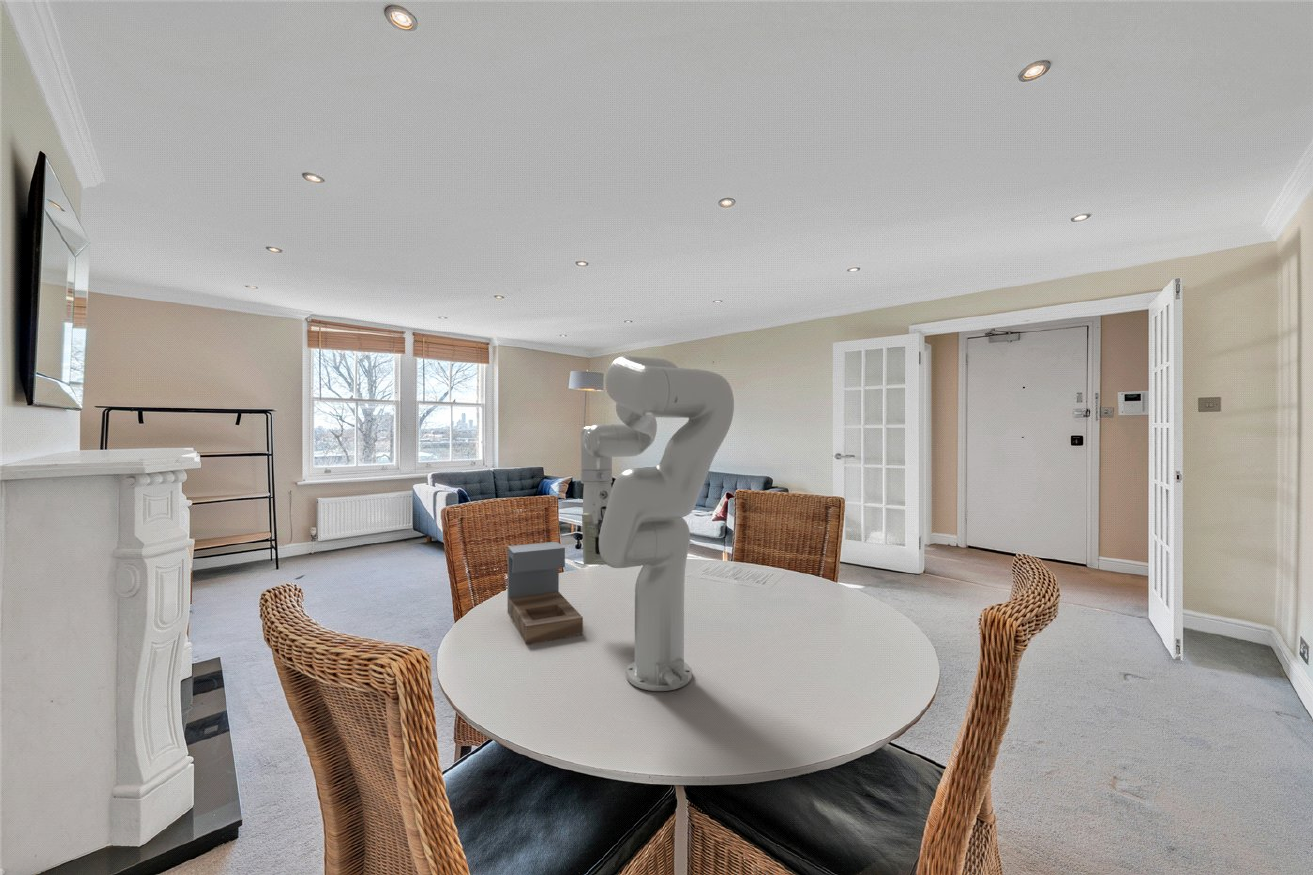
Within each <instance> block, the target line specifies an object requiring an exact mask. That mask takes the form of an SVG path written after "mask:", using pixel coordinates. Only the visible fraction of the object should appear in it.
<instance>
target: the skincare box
mask: <svg viewBox="0 0 1313 875" xmlns="http://www.w3.org/2000/svg"><path fill="white" fill-rule="evenodd" d="M581 520H582V521H581V522H582V523H581V525H582V530H581V531H582V555H583V556H582V557H583V566H586V565H587V566H590V565H592V566H594V565H595V566H596V565H597V566H600V565H601V566H602V565H603V566H604V565H606V566H608V565H607V564H606V563H605V562H604V561H603V560H602V558H601V555H600V554H596V553H595V537H597V533H596V527H595V525H593V524H591V522H590V516H589V514H587V513H584V514H583V513H582V515H581ZM599 523H602V522H599ZM599 523H598V524H599ZM599 528H600V530H601V527H599Z"/></svg>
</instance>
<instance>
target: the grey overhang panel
mask: <svg viewBox="0 0 1313 875" xmlns="http://www.w3.org/2000/svg"><path fill="white" fill-rule="evenodd" d="M506 548H507V552H506V553H507V555H506V557H507V558H506V559H507V560H506V563H507V568H506V570H507V583H506V584H507V587H506V588H507V613H508V614H509V598H514V597H522V596H529V595H537V594H544V593H552V592H559V593H560V591H559V590H560V589H559V588H560V587H559V584H560V578H559V573H560V570H559V569H561V568H566V548H565V546H564V545H562V544H561V543H559V542H558V541H551V542H550V541H549V542H539V543H538V542H537V543H528V544H527V543H526V544H517V545H507V546H506Z"/></svg>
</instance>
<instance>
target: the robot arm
mask: <svg viewBox="0 0 1313 875" xmlns="http://www.w3.org/2000/svg"><path fill="white" fill-rule="evenodd" d="M604 382H605V389H606V392H607V394H608V396H609V397H610V399H611V400H612V401H613V402H615V411H616V414H617V416H618V418H619V421H621V422H622V424H620V423H619V424H618V423H617V424H616V423H615V424H593V425H590V426H589V425H587V426H584V427H582V429H581V431H580V483H581V484H583V492H582V493H583V494H582V515H583V514H584V513H587V514H589V516H590V522H591V524H593V525H595V527H596V533H597V537H595V553H596V554H600V555H601V558H602V560H603V561H604V562H605V563H606V564H607V565H606V566H608V567H610V568H612V569H627V568H633V567H634V568H635V567H641V566H642V567H641V568H640V571H639V573H638V576H637V577H636V581H635V584H634V585H635V586H634V661H632V663H630V664H629V665H628V666H627V667H626V673H625V675H626V676H625V677H626V680H627V681H628V682H629V683H630V684H631V685H633V686H634V687H636V688H638V689H642V690H646V691H650V692H669V691H674V690H675V691H676V690H677V689H680V688H684V686H686V685H687V684H689V682H691V680H692V678H693V671H692V670H693V669H692V668H691V666H690V665H689V664H688V663H686V662H685V579H686V578H685V576H686V568H687V567H686V566H687V560H688V555H689V554H688V552H689V548H690V542H691V532H690V526H689V525H688V523H687V521H686V519H684V517H687V516H689V515H690V514H692V512H693V511H694V509H695V507H696V505H697V502H698V501H699V497H700V495H701V494H702V493H701V492H702V490H703V487H704V484H705V481H706V479H707V477H708V474H709V472H710V468H711V465H712V463H713V461H714V458H715V456H716V454H717V453H718V450H719V449H720V447H721V445H722V444H723V442H724V440H725V438H726V437H727V434H728V432H729V430H730V428H731V425H732V421H733V417H734V410H735V400H734V398H735V397H734V394H733V390H732V387H731V384H730V383H729V382H728V380H727V378H724V376H722V375H720V374H718V373H716V372H714V371H711V370H710V371H709V370H706V369H698V368H697V369H696V368H685V367H683V368H682V367H681V368H680V367H678V366H677V365H676V364H675V363H674V362H672V361H670V360H667V359H665V358H664V359H663V358H657V357H647V356H646V357H645V356H633V355H623V356H620V357H617V358H616V359H615V360H613V361H612V362H611V363H610V365H609V366H608V369H607V372H606V374H605V381H604ZM657 418H669V419H670V418H671V419H673V418H675V419H676V418H677V419H678V418H679V419H680V418H682V419H683V418H686V419H687V420H688V421H687V422H685V424H683V425H682V426H681V427H680V428H678V430H676V432H675V433H674V434H673V435H672V436H671V437H670V439H669V441H668V442H667V443H666V446H665V449H664V452H663V455H662V457H661V461H660V462H659V463H658V464H657V465H655V466H651V467H650V466H649V467H634V468H629V469H625V470H624V471H623V472H621V473H619V475H618V476H616V478H615V480H614V481H613V457H615V458H618V457H619V458H621V457H623V458H624V457H637V456H639V455H641V454H643V453H644V452H645V451H646V450H647V449H649V447H650V446H651V445H652V444H653V443H654V442H655V439H656V436H657V435H656V434H657V429H658V426H657V425H658V424H657ZM612 483H613V484H612ZM599 522H602V523H599ZM598 523H599V524H598ZM599 527H601V530H600V528H599Z"/></svg>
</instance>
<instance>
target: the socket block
mask: <svg viewBox="0 0 1313 875" xmlns="http://www.w3.org/2000/svg"><path fill="white" fill-rule="evenodd" d="M508 614H509V616H510V618H511V620H512V622H513V624H514V623H515V624H514V626H516V628H517V631H518V632H519V635H520V636H521V638H522V639H523V641H524V643H525V645H530V644H534V643H535V642H536V643H540V641H541V642H546V641H545V640H547V641H552V640H551V639H553V640H557V639H558V638H559V639H563V637H565V638H569V637H575V636H576V637H577V636H581V634H582V635H583V634H584V628H583V627H584V623H583V622H584V617H583V616H582V615H581V614H580V612H578V611H577V609H575V607H574V606H573V605H572V604H571V603H570V602H569V600H567V599H566V597H565V596H564V595H562V593H561V592H560V591H559V592H552V593H544V594H537V595H529V596H522V597H514V598H509V613H508ZM556 638H557V639H556ZM536 643H535V644H536Z"/></svg>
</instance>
